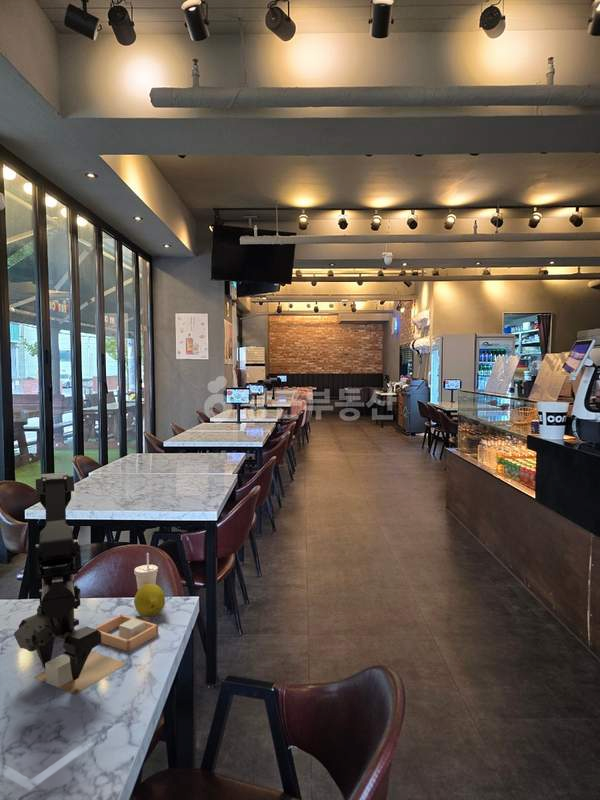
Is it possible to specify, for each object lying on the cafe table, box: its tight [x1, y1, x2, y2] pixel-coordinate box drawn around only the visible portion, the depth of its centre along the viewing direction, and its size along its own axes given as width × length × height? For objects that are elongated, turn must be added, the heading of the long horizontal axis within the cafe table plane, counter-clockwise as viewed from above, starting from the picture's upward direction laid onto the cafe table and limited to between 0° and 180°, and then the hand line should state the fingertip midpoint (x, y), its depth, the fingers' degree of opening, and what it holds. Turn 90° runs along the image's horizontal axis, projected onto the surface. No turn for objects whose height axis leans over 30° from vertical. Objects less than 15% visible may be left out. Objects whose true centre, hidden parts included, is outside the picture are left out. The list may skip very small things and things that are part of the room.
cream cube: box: [118, 619, 144, 640], centre depth 127 cm, size 4×4×4 cm
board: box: [33, 650, 128, 696], centre depth 114 cm, size 13×13×1 cm
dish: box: [92, 614, 159, 652], centre depth 129 cm, size 12×9×3 cm
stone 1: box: [44, 653, 73, 689], centre depth 110 cm, size 4×4×4 cm
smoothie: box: [133, 552, 159, 591], centre depth 150 cm, size 6×6×14 cm
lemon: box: [133, 584, 166, 618], centre depth 142 cm, size 11×8×8 cm
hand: (60, 673), depth 110 cm, fingers open, 9 cm apart
